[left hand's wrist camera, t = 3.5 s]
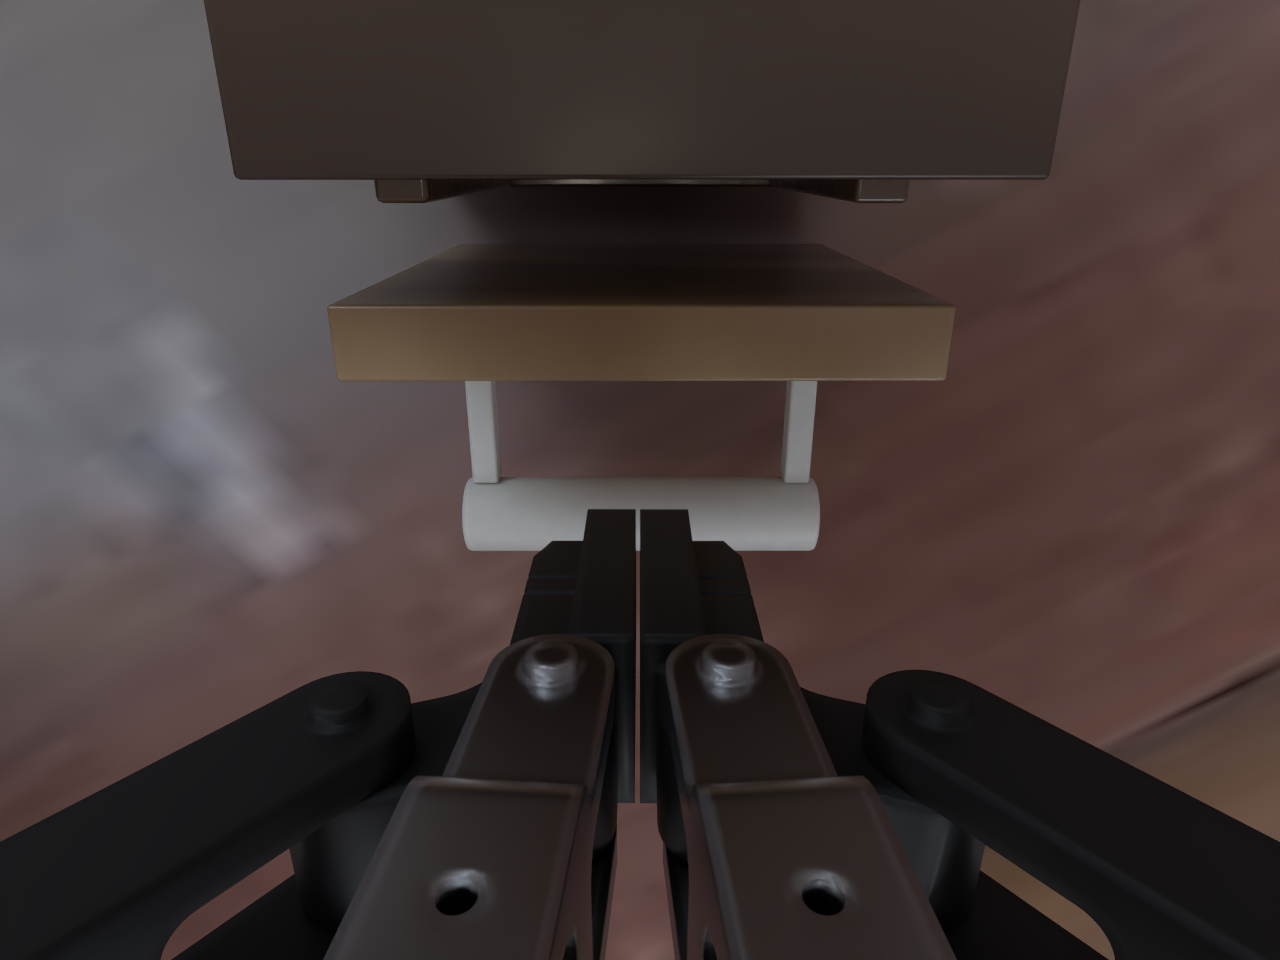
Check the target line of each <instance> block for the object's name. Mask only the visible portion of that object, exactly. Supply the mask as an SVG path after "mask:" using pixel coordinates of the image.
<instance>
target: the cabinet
mask: <svg viewBox="0 0 1280 960" xmlns="http://www.w3.org/2000/svg"><path fill="white" fill-rule="evenodd" d="M1079 3H1080V0H204V4H205V10H206V15H207V21H208V27H209V33H210V38H211V44H212V50H213V56H214V61H215V67H216V73H217V78H218V84H219V90H220V96H221V101H222V107H223V113H224V119H225V124H226V130H227V136H228V141H229V147H230V153H231V159H232V164H233V170H234V175H235V177H236V178H238V179H240V180H625V179H1045V178H1047V177H1048V176H1049V174H1050V169H1051V163H1052V157H1053V151H1054V146H1055V140H1056V134H1057V129H1058V123H1059V117H1060V112H1061V106H1062V100H1063V95H1064V89H1065V83H1066V77H1067V72H1068V66H1069V60H1070V55H1071V49H1072V43H1073V38H1074V32H1075V26H1076V21H1077V15H1078V9H1079Z"/></svg>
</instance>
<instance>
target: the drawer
mask: <svg viewBox="0 0 1280 960" xmlns="http://www.w3.org/2000/svg"><path fill="white" fill-rule="evenodd" d="M374 181H375V190H376V197H377V199H378V201H380V202H382V203H426V202H432V201H437V200H442V199H447V198H453V197H458V196H463V195H468V194H474V193H479V192H484V191H489V190H495V189H500V188H505V187H777V188H782V189H787V190H793V191H798V192H803V193H808V194H814V195H819V196H824V197H830V198H835V199H840V200H846V201H851V202H856V203H902V202H905V201H906V199H907V196H908V188H909V179H625V180H374ZM327 310H328V317H329V324H330V331H331V338H332V345H333V352H334V359H335V366H336V373H337V378H338V380H340V381H465V390H466V402H467V414H468V426H469V438H470V450H471V462H472V474H473V477H472V478H470V479H469V480H468V481H467V484H466V487H465V490H464V496H463V506H462V524H463V534H464V539H465V543H466V546H467V548H468V549H469V550H471V551H541V550H542V549H543V548H545V547H546V546H547V545H548V544H549V543H550V542H551V541H583V537H584V531H585V524H586V518H587V511H588V509H636V551H640V509H688V513H689V520H690V527H691V534H692V541H724V542H725V543H727V544H728V545H729V546H730V547H731V548H732V549H733V550H734V551H811V550H813V549H814V548H815V546H816V543H817V540H818V536H819V528H820V503H819V495H818V489H817V486H816V483H815V481H814V479H813V478H811V477H810V465H811V453H812V441H813V429H814V417H815V405H816V393H817V381H943V380H945V378H946V374H947V367H948V360H949V353H950V346H951V339H952V332H953V325H954V318H955V312H956V307H955V305H953V304H950V303H948V302H946V301H944V300H942V299H939V298H937V297H935V296H933V295H931V294H928V293H926V292H924V291H922V290H920V289H918V288H915V287H913V286H911V285H909V284H907V283H904V282H902V281H900V280H898V279H896V278H893V277H891V276H889V275H887V274H885V273H882V272H880V271H878V270H876V269H874V268H872V267H869V266H867V265H865V264H863V263H861V262H858V261H856V260H854V259H852V258H850V257H847V256H845V255H843V254H841V253H839V252H836V251H834V250H832V249H830V248H828V247H825V246H823V245H821V244H461V245H459V246H457V247H454V248H452V249H450V250H448V251H446V252H444V253H441V254H439V255H437V256H435V257H433V258H431V259H428V260H426V261H424V262H422V263H420V264H418V265H416V266H413V267H411V268H409V269H407V270H405V271H403V272H400V273H398V274H396V275H394V276H392V277H390V278H387V279H385V280H383V281H381V282H379V283H377V284H374V285H372V286H370V287H368V288H366V289H364V290H361V291H359V292H357V293H355V294H353V295H351V296H348V297H346V298H344V299H342V300H340V301H338V302H335V303H333V304H331V305H329V306H328V309H327ZM495 381H787V387H786V402H785V416H784V431H783V445H782V460H781V476H782V477H500V476H501V474H502V472H501V457H500V443H499V428H498V414H497V399H496V384H495Z"/></svg>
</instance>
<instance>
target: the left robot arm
mask: <svg viewBox="0 0 1280 960" xmlns="http://www.w3.org/2000/svg"><path fill="white" fill-rule="evenodd" d="M635 695H636V509H588V511H587V518H586V524H585V531H584V537H583V541H551V542H550V543H549V544H548V545H547V546H546V547H545V548H543V549H542V550H541V551H540V552H539V553H538V554H536V555H535V556H534V558H533V562H532V565H531V569H530V573H529V579H528V580H527V584H526V588H525V594H524V595H523V599H522V602H521V606H520V610H519V613H518V617H517V621H516V625H515V628H514V632H513V636H512V639H511V643H510V646H508V647H506V648H505V649H503V650H502V651H501V652H500V653H498V654H497V655H496V657H495V658H494V659H493V660H492V662H491V664H490V665H489V668H488V670H487V672H486V675H485V677H484V679H483V682H482V683H480V684H478V685H476V686H474V687H472V688H470V689H468V690H465V691H462V692H460V693H457V694H453V695H449V696H445V697H441V698H436V699H431V700H427V701H422V702H417V703H412V704H411V701H410V695H409V692H408V690H407V688H406V687H405V686H404V685H403V684H402V683H401V682H400V681H398V680H397V679H395V678H393V677H391V676H388V675H385V674H381V673H375V672H361V671H359V672H346V673H340V674H335V675H331V676H327V677H324V678H321V679H318V680H315V681H312V682H310V683H308V684H306V685H304V686H302V687H300V688H298V689H296V690H294V691H292V692H290V693H288V694H286V695H284V696H282V697H280V698H278V699H276V700H274V701H272V702H271V703H269V704H267V705H265V706H263V707H261V708H259V709H257V710H255V711H253V712H251V713H249V714H247V715H245V716H243V717H241V718H240V719H238V720H236V721H234V722H232V723H230V724H228V725H226V726H224V727H222V728H220V729H218V730H216V731H214V732H212V733H211V734H209V735H207V736H205V737H203V738H201V739H199V740H197V741H195V742H193V743H191V744H189V745H187V746H185V747H183V748H181V749H180V750H178V751H176V752H174V753H172V754H170V755H168V756H166V757H164V758H162V759H160V760H158V761H156V762H154V763H152V764H150V765H149V766H147V767H145V768H143V769H141V770H139V771H137V772H135V773H133V774H131V775H129V776H127V777H125V778H123V779H121V780H120V781H118V782H116V783H114V784H112V785H110V786H108V787H106V788H104V789H102V790H100V791H98V792H96V793H94V794H92V795H90V796H89V797H87V798H85V799H83V800H81V801H79V802H77V803H75V804H73V805H71V806H69V807H67V808H65V809H63V810H61V811H59V812H58V813H56V814H54V815H52V816H50V817H48V818H46V819H44V820H42V821H40V822H38V823H36V824H34V825H32V826H30V827H29V828H27V829H25V830H23V831H21V832H19V833H17V834H15V835H13V836H11V837H9V838H7V839H5V840H3V841H1V842H0V960H160V959H161V955H162V952H163V950H164V947H165V945H166V943H167V941H168V940H169V938H170V936H171V935H172V934H173V932H174V931H175V930H176V928H177V927H178V926H179V925H180V924H181V923H182V922H183V921H184V920H185V919H186V918H187V917H188V916H189V915H191V914H192V913H193V912H195V911H196V910H197V909H199V908H200V907H202V906H203V905H205V904H206V903H208V902H209V901H211V900H212V899H214V898H215V897H217V896H218V895H220V894H221V893H223V892H224V891H226V890H227V889H229V888H230V887H232V886H233V885H235V884H236V883H238V882H239V881H241V880H242V879H244V878H245V877H247V876H248V875H250V874H251V873H253V872H254V871H256V870H257V869H259V868H260V867H262V866H263V865H265V864H266V863H268V862H269V861H271V860H272V859H274V858H275V857H277V856H278V855H280V854H281V853H283V852H284V851H286V850H287V849H290V854H291V859H292V863H293V868H294V873H295V874H294V875H292V876H291V877H289V878H288V879H287V880H285V881H284V882H282V883H281V884H279V885H278V886H277V887H275V888H274V889H272V890H271V891H269V892H268V893H266V894H265V895H264V896H262V897H261V898H259V899H258V900H256V901H255V902H254V903H252V904H251V905H249V906H248V907H246V908H245V909H244V910H242V911H241V912H239V913H238V914H236V915H235V916H233V917H232V918H231V919H229V920H228V921H226V922H225V923H223V924H222V925H221V926H219V927H218V928H216V929H215V930H213V931H212V932H211V933H209V934H208V935H206V936H205V937H203V938H202V939H200V940H199V941H198V942H196V943H195V944H193V945H192V946H190V947H189V948H188V949H186V950H185V951H183V952H182V953H180V954H179V955H177V956H176V957H175V958H173V959H172V960H605V954H606V946H607V938H608V930H609V922H610V914H611V906H612V898H613V890H614V882H615V874H616V866H617V803H635ZM640 803H657V822H658V830H659V833H660V836H661V838H662V840H663V866H664V874H665V882H666V890H667V898H668V906H669V914H670V922H671V930H672V938H673V946H674V954H675V960H1108V959H1107V958H1105V957H1104V956H1102V955H1101V954H1100V953H1098V952H1097V951H1095V950H1094V949H1092V948H1091V947H1090V946H1088V945H1087V944H1085V943H1084V942H1082V941H1081V940H1080V939H1078V938H1077V937H1075V936H1074V935H1072V934H1071V933H1069V932H1068V931H1067V930H1065V929H1064V928H1062V927H1061V926H1059V925H1058V924H1057V923H1055V922H1054V921H1052V920H1051V919H1049V918H1048V917H1047V916H1045V915H1044V914H1042V913H1041V912H1039V911H1038V910H1036V909H1035V908H1034V907H1032V906H1031V905H1029V904H1028V903H1026V902H1025V901H1024V900H1022V899H1021V898H1019V897H1018V896H1016V895H1015V894H1013V893H1012V892H1011V891H1009V890H1008V889H1006V888H1005V887H1003V886H1002V885H1001V884H999V883H998V882H996V881H995V880H993V879H992V878H991V877H989V876H988V875H986V874H985V873H983V872H982V871H980V867H981V862H982V857H983V852H984V847H985V845H987V846H988V847H990V848H991V849H993V850H994V851H996V852H997V853H999V854H1000V855H1002V856H1003V857H1005V858H1006V859H1008V860H1009V861H1011V862H1012V863H1014V864H1015V865H1017V866H1018V867H1020V868H1021V869H1023V870H1024V871H1026V872H1027V873H1029V874H1030V875H1032V876H1033V877H1035V878H1036V879H1038V880H1039V881H1041V882H1042V883H1044V884H1045V885H1047V886H1048V887H1050V888H1051V889H1053V890H1054V891H1056V892H1057V893H1059V894H1060V895H1062V896H1063V897H1065V898H1066V899H1068V900H1069V901H1071V902H1072V903H1074V904H1075V905H1077V906H1078V907H1079V908H1081V909H1082V910H1083V911H1085V912H1086V913H1087V914H1088V915H1089V916H1090V917H1091V918H1093V920H1094V921H1095V922H1096V923H1097V924H1098V925H1099V926H1100V928H1101V929H1102V930H1103V932H1104V933H1105V935H1106V936H1107V938H1108V940H1109V942H1110V944H1111V946H1112V949H1113V952H1114V956H1115V960H1280V842H1279V841H1277V840H1275V839H1273V838H1271V837H1269V836H1267V835H1265V834H1263V833H1261V832H1259V831H1257V830H1255V829H1253V828H1251V827H1250V826H1248V825H1246V824H1244V823H1242V822H1240V821H1238V820H1236V819H1234V818H1232V817H1230V816H1228V815H1226V814H1224V813H1222V812H1220V811H1219V810H1217V809H1215V808H1213V807H1211V806H1209V805H1207V804H1205V803H1203V802H1201V801H1199V800H1197V799H1195V798H1193V797H1191V796H1189V795H1188V794H1186V793H1184V792H1182V791H1180V790H1178V789H1176V788H1174V787H1172V786H1170V785H1168V784H1166V783H1164V782H1162V781H1160V780H1159V779H1157V778H1155V777H1153V776H1151V775H1149V774H1147V773H1145V772H1143V771H1141V770H1139V769H1137V768H1135V767H1133V766H1131V765H1129V764H1128V763H1126V762H1124V761H1122V760H1120V759H1118V758H1116V757H1114V756H1112V755H1110V754H1108V753H1106V752H1104V751H1102V750H1100V749H1098V748H1097V747H1095V746H1093V745H1091V744H1089V743H1087V742H1085V741H1083V740H1081V739H1079V738H1077V737H1075V736H1073V735H1071V734H1069V733H1068V732H1066V731H1064V730H1062V729H1060V728H1058V727H1056V726H1054V725H1052V724H1050V723H1048V722H1046V721H1044V720H1042V719H1040V718H1038V717H1037V716H1035V715H1033V714H1031V713H1029V712H1027V711H1025V710H1023V709H1021V708H1019V707H1017V706H1015V705H1013V704H1011V703H1009V702H1008V701H1006V700H1004V699H1002V698H1000V697H998V696H996V695H994V694H992V693H990V692H988V691H986V690H984V689H982V688H980V687H978V686H977V685H975V684H972V683H970V682H968V681H966V680H964V679H961V678H958V677H955V676H952V675H948V674H944V673H941V672H934V671H927V670H904V671H897V672H894V673H890V674H887V675H885V676H883V677H881V678H879V679H878V680H876V681H875V682H874V683H873V684H872V685H871V687H870V688H869V691H868V693H867V699H866V705H865V704H860V703H856V702H851V701H846V700H841V699H837V698H832V697H828V696H824V695H820V694H817V693H814V692H811V691H808V690H806V689H804V688H801V687H800V686H799V684H798V682H797V679H796V677H795V675H794V672H793V670H792V668H791V665H790V664H789V662H788V660H787V659H786V658H785V657H784V655H783V654H782V653H780V652H779V651H778V650H777V649H775V648H774V647H772V646H770V645H769V644H767V643H764V641H763V637H762V633H761V629H760V625H759V621H758V617H757V614H756V610H755V606H754V602H753V598H752V595H751V590H750V587H749V583H748V580H747V575H746V571H745V567H744V563H743V559H742V557H741V556H740V555H739V554H738V553H737V552H736V551H734V550H733V549H732V548H731V547H730V546H729V545H728V544H727V543H725V542H724V541H692V534H691V527H690V520H689V513H688V509H640Z"/></svg>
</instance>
